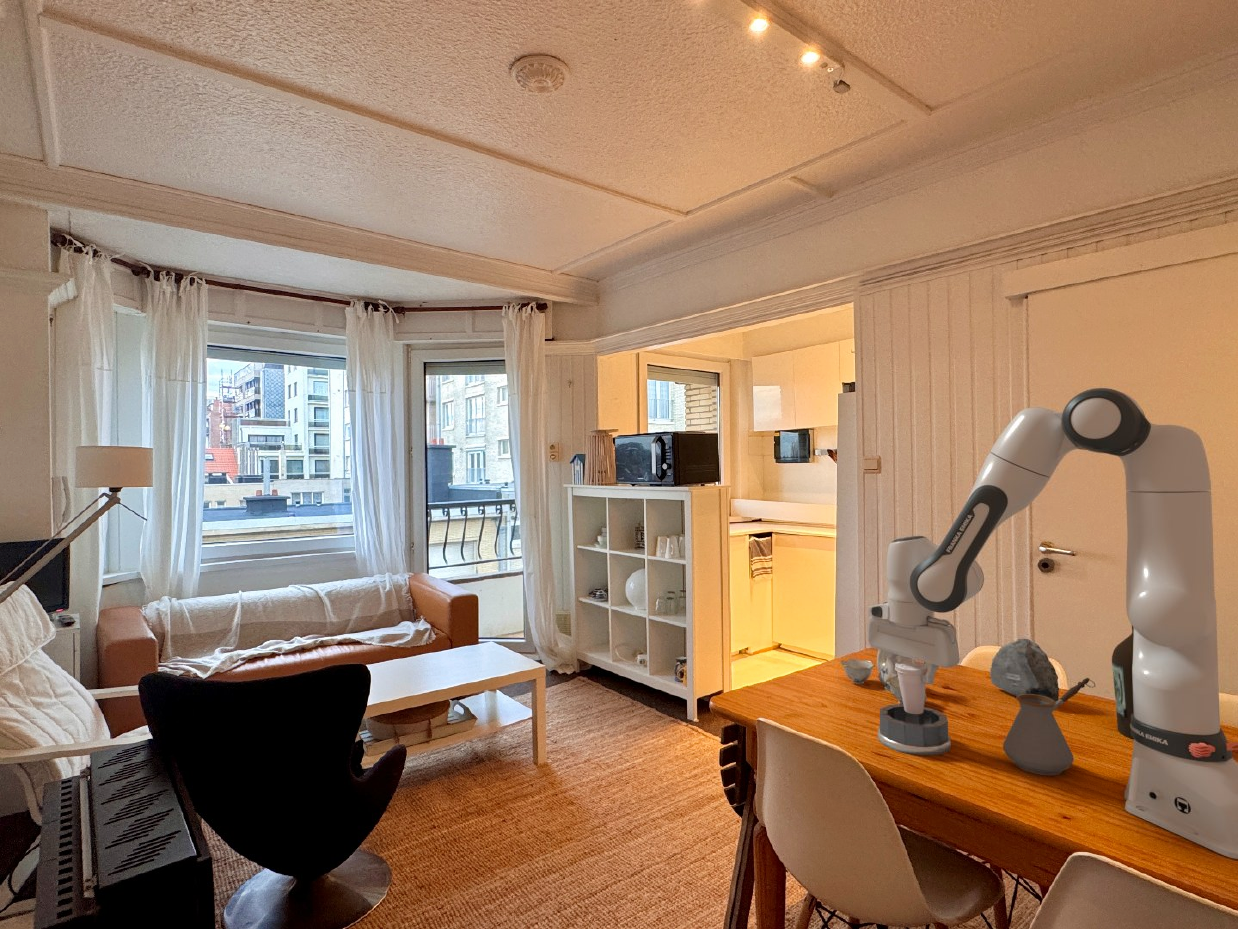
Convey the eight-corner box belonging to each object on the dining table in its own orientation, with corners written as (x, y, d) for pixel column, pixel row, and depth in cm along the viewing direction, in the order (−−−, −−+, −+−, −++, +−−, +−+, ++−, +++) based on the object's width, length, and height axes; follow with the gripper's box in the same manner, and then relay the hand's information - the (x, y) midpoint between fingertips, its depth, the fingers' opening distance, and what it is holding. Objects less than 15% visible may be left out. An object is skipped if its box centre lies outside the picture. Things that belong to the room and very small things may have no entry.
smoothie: (934, 717, 135) (929, 649, 135) (900, 716, 137) (896, 649, 136) (926, 705, 141) (922, 640, 141) (894, 704, 143) (890, 640, 143)
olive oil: (1172, 731, 141) (1168, 614, 142) (1183, 749, 132) (1179, 624, 132) (1110, 722, 147) (1107, 610, 147) (1117, 739, 137) (1113, 619, 138)
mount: (965, 752, 133) (965, 725, 133) (901, 758, 131) (900, 730, 131) (924, 726, 147) (923, 701, 147) (865, 731, 145) (865, 706, 145)
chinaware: (830, 686, 180) (824, 626, 180) (875, 671, 187) (869, 613, 187) (914, 720, 155) (907, 650, 155) (963, 701, 162) (956, 634, 162)
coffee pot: (1045, 785, 119) (1042, 701, 119) (989, 760, 129) (987, 683, 130) (1123, 764, 126) (1121, 685, 126) (1064, 742, 137) (1062, 669, 137)
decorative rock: (1063, 708, 156) (1061, 644, 156) (1040, 711, 154) (1038, 646, 155) (1007, 686, 172) (1005, 629, 172) (985, 689, 170) (984, 631, 170)
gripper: (965, 620, 131) (967, 689, 131) (881, 603, 150) (883, 664, 149) (944, 624, 128) (946, 695, 128) (861, 606, 147) (863, 668, 146)
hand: (912, 678), depth 139 cm, fingers closed on smoothie, 6 cm apart
